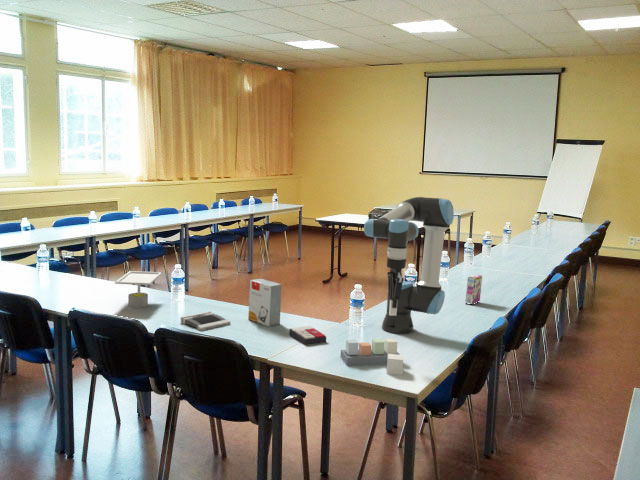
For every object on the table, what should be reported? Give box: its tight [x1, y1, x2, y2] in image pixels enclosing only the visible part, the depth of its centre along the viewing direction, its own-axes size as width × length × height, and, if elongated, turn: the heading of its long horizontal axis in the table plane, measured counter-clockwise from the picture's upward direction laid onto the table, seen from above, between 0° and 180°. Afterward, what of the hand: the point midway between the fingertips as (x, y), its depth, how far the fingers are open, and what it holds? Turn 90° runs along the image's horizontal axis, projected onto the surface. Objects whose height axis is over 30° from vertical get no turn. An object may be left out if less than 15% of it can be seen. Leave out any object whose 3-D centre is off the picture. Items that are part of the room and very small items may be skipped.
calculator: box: [288, 325, 327, 346], centre depth 270 cm, size 11×4×15 cm
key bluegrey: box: [345, 339, 359, 355], centre depth 244 cm, size 4×4×5 cm
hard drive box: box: [247, 278, 283, 327], centre depth 293 cm, size 16×8×20 cm, turn 47°
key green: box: [371, 338, 385, 354], centre depth 246 cm, size 4×4×5 cm
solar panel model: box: [114, 270, 163, 309], centre depth 313 cm, size 28×17×15 cm, turn 2°
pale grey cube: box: [386, 354, 404, 376], centre depth 235 cm, size 6×6×6 cm
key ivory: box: [384, 338, 398, 354], centre depth 247 cm, size 4×4×5 cm
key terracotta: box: [358, 342, 372, 355], centre depth 245 cm, size 4×4×5 cm
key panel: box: [340, 348, 401, 366], centre depth 246 cm, size 23×10×3 cm, turn 102°
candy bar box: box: [465, 274, 483, 304], centre depth 353 cm, size 11×5×16 cm, turn 144°
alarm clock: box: [180, 311, 231, 332], centre depth 286 cm, size 17×5×16 cm
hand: (392, 315), depth 245 cm, fingers closed
